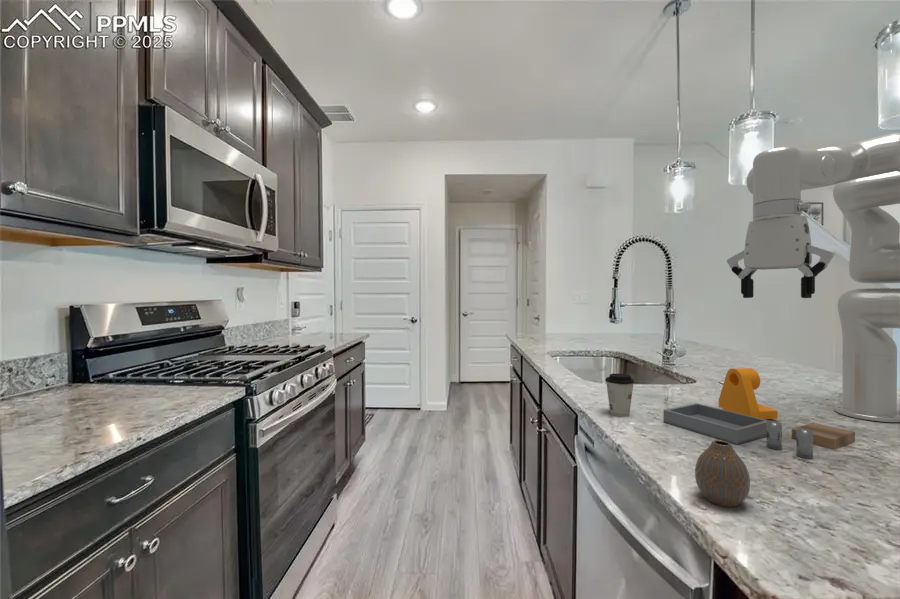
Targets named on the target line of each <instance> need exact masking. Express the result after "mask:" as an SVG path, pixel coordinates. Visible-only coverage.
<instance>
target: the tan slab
mask: <svg viewBox="0 0 900 599" xmlns="http://www.w3.org/2000/svg"><path fill="white" fill-rule="evenodd" d="M797 428H804V429H809V430H812V431H813V446H819V447H821V448H822V447H823V448H825V449H829V450H833V451H835V450H838V449H840V448H843V447H845V446H848V445H851V444H853V443H855V442H856V431H852V430H848V429H843V428H839V427H834V426H830V425H827V424H821V423H818V422H817V423H816V422H810V423H806V424H804V425H800V426H797V427H794V428H792V429H791V440H795V441H796V429H797Z"/></svg>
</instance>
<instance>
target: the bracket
mask: <svg viewBox="0 0 900 599" xmlns="http://www.w3.org/2000/svg"><path fill="white" fill-rule="evenodd" d="M725 374H726V375H725V378H724V381H723V385H722V387H721V391H720V394H719V398H718V408H719V409H723V410H727V411H731V412H736V413H740V414H744V415H748V416H752V417H756V418H761V419H765V420H777V419H778V410H777V409H775V408H772V407H769V406H766V405H763V404H761V403H758V400H757V398H756V394H755V390H758V388H759V387H760V385H761V376H760V374H759V372H758V371H757V370H756V369H754V368H752V367H746V368H745V367H743V368H742V367H741V368H730V369H728V370H727V372H726V373H725Z"/></svg>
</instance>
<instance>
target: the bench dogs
mask: <svg viewBox="0 0 900 599" xmlns="http://www.w3.org/2000/svg"><path fill="white" fill-rule="evenodd" d="M796 428H797V427H796ZM795 442H796V446H795V448H796V449H795V451H796V452H795V454H796V457H798V458H801V459H805V460H812V459H814V444H813V431H812V430H809V429H804V428H797V429H796V440H795ZM766 447H767V448H769V449H772V450H775V451H776V450H777V451H781V450H782V449H783V423H781V422H779V421H775V420H769V421H767V436H766Z"/></svg>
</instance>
